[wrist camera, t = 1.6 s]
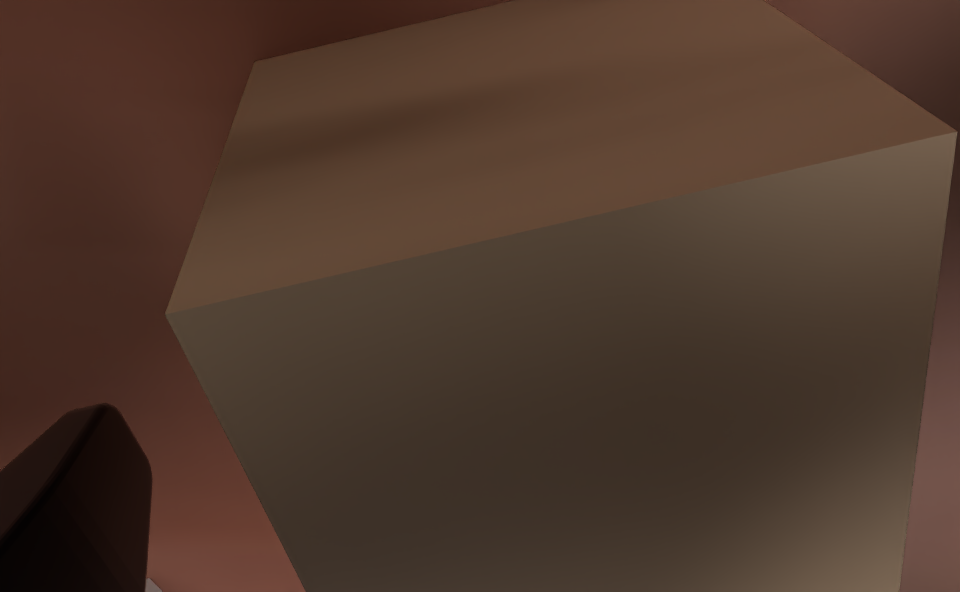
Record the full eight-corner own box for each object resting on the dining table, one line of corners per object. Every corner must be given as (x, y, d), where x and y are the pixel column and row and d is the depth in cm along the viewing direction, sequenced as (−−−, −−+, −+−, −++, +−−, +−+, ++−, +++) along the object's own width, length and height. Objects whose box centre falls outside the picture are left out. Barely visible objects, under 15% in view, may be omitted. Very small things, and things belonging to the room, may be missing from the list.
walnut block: (716, 316, 12) (895, 619, 8) (375, 393, 12) (376, 731, 8) (695, -46, 9) (957, 131, 5) (254, 60, 9) (165, 313, 5)
